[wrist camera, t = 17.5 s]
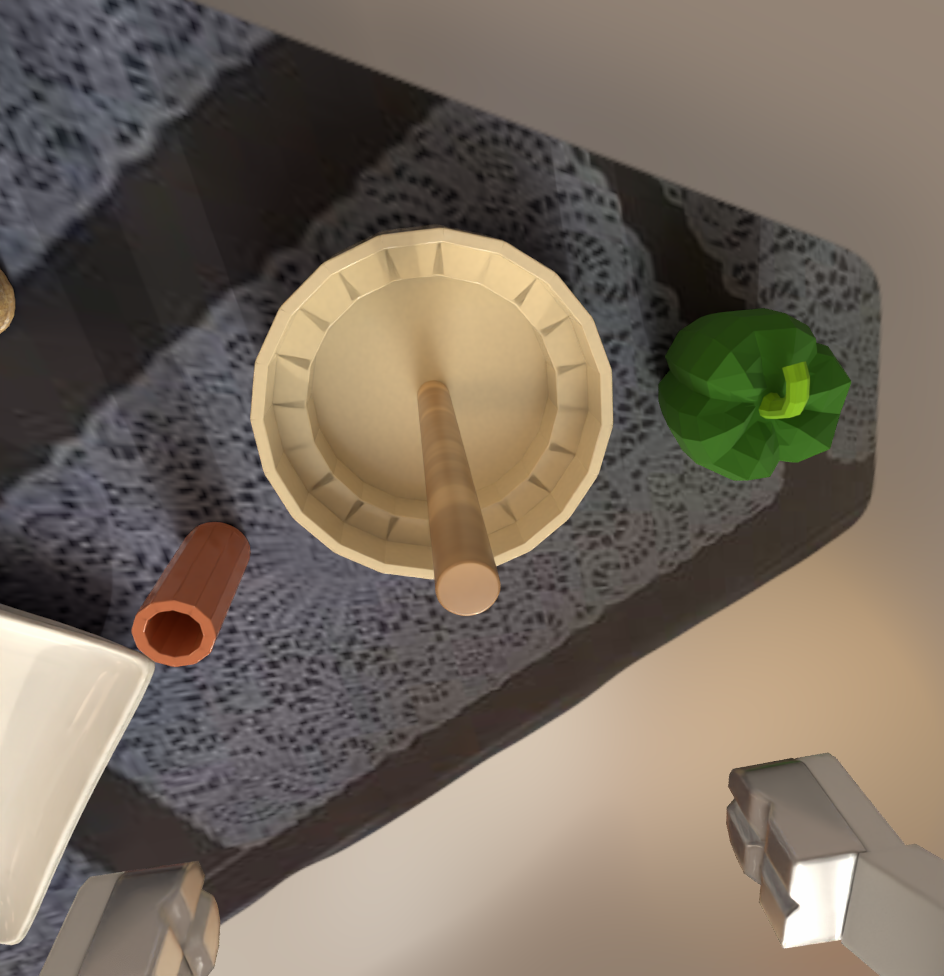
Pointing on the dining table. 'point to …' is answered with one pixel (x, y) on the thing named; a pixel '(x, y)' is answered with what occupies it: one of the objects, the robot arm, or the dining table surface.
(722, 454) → the bell pepper
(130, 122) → the dining table surface
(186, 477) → the dining table surface
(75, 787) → the square plate
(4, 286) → the sprinkles bottle
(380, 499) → the bowl
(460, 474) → the stirring stick
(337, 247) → the dining table surface
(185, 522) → the dining table surface
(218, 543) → the stick holder
